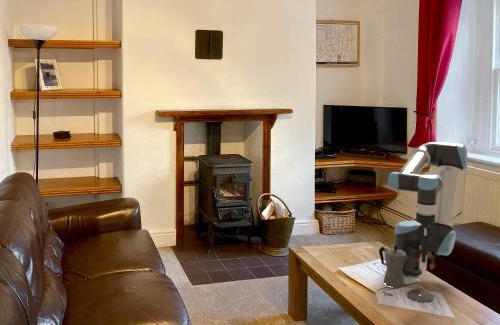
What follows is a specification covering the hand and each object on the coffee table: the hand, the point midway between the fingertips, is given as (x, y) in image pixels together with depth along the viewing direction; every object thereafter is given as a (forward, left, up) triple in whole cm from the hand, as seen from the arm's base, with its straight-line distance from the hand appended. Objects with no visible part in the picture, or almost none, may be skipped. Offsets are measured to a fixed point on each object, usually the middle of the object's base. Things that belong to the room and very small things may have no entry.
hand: (422, 264), depth 228 cm
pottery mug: (0, +1, -1) cm, 1 cm away
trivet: (0, 0, -14) cm, 14 cm away
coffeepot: (-11, -12, -15) cm, 22 cm away
